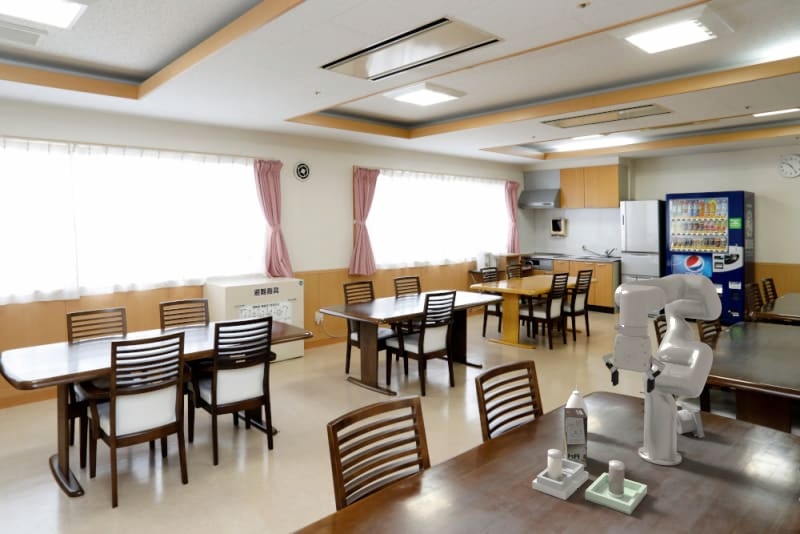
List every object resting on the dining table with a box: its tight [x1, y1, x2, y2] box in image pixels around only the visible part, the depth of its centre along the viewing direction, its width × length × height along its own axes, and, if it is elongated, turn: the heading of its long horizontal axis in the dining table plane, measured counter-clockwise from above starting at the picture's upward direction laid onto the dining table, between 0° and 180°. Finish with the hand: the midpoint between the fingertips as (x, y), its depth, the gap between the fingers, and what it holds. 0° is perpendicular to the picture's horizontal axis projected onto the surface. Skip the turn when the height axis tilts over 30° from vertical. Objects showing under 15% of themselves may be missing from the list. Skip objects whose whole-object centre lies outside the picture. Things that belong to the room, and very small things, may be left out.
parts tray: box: [584, 472, 648, 516], centre depth 143 cm, size 14×12×2 cm
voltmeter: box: [640, 391, 705, 439], centre depth 192 cm, size 27×11×10 cm, turn 32°
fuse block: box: [531, 448, 589, 501], centre depth 151 cm, size 16×10×11 cm, turn 138°
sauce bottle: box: [565, 384, 589, 418], centre depth 187 cm, size 8×8×18 cm
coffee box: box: [563, 407, 589, 468], centre depth 165 cm, size 9×6×16 cm
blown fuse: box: [608, 459, 625, 498], centre depth 143 cm, size 4×4×9 cm
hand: (632, 388), depth 150 cm, fingers open, 9 cm apart
